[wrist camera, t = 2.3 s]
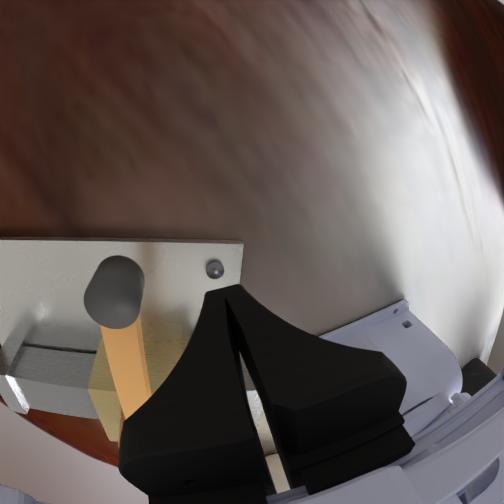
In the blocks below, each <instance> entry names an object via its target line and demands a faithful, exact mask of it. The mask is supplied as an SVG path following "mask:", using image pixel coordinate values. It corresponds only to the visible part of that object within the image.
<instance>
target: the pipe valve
mask: <svg viewBox="0 0 504 504" xmlns="http://www.w3.org/2000/svg"><path fill="white" fill-rule="evenodd" d="M143 344H144V351H145V358H146V365H147V371H148V378H149V383H150V389H151V395H153V394H154V392H155V391H156V390H157V389H158V388H159V387H160V386H161V384H162V383H163V382H164V381H165V379H166V378H167V377H168V375H169V374H170V372H171V371H172V369H173V368H174V366H175V365H176V364H177V362H178V360H179V359H180V357H181V355H182V354H183V352H184V350H185V348H186V346H187V344H188V342H169V341H143ZM239 352H240V351H239ZM240 358H241V363H242V369H243V375H244V381H245V386H246V392H247V398H248V402H249V406H250V410H251V413H252V417H253V420H254V423H255V426H258V421H259V417H260V413H261V409H262V404H261V401H260V399H259V396H258V394H257V391H256V389H255V387H254V384H253V382H252V380H251V377H250V375H249V373H248V370H247V368H246V366H245V363H244V361H243V359H242V356H241V354H240ZM0 394H1V396H2V397H3V399H4V400H5V402H6V404H7V405H8V407H9V408H10V410H12V411H16V412H19V413H23V414H27V413H28V410H29V408H33V409H38V410H43V411H48V412H53V413H59V414H65V415H71V416H78V417H85V418H93V419H100V421H101V423H102V425H103V427H104V430H105V432H106V434H107V436H108V438H109V440H110V441H118V439H119V427H120V418H121V417H122V415H123V414H124V413H123V410H122V407H121V404H120V401H119V397H118V394H117V391H116V387H115V384H114V380H113V377H112V373H111V369H110V365H109V361H108V357H107V353H106V349H105V345H104V340H103V339H100V342H99V346H98V349H97V353H96V354H88V353H77V352H67V351H58V350H50V349H42V348H35V347H28V346H26V345H25V343H24V340H21V339H14V338H8V337H7V339H6V341H5V342H4V344H3V346H2V348H1V349H0Z"/></svg>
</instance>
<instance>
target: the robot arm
mask: <svg viewBox="0 0 504 504" xmlns="http://www.w3.org/2000/svg"><path fill="white" fill-rule="evenodd" d="M239 351H240V352H239ZM240 354H241V356H242V359H243V361H244V363H245V366H246V368H247V370H248V373H249V375H250V377H251V380H252V382H253V384H254V387H255V389H256V391H257V394H258V396H259V399H260V401H261V404H262V407H263V410H264V413H265V416H266V419H267V422H268V425H269V428H270V431H271V434H272V437H273V440H274V443H275V446H276V449H277V452H278V455H279V458H280V461H281V464H282V467H283V470H284V473H285V475H286V478H287V481H288V484H289V487H290V490H288V491H284V492H281V493H277V491H276V488H275V485H274V482H273V479H272V476H271V473H270V470H269V467H268V464H267V461H266V458H265V455H264V452H263V449H262V446H261V443H260V439H259V436H258V433H257V430H256V426H255V423H254V420H253V417H252V413H251V410H250V406H249V402H248V398H247V392H246V386H245V381H244V375H243V369H242V363H241V358H240ZM461 389H462V372H461V369H460V366H459V363H458V361H457V359H456V357H455V356H454V354H453V353H452V351H451V350H450V349H449V348H448V347H447V346H446V345H445V344H444V343H443V342H442V341H441V340H440V339H439V338H438V337H437V336H436V335H435V334H434V333H433V332H432V331H431V330H430V329H429V328H428V327H426V326H425V325H424V324H423V323H422V322H421V321H420V320H419V319H418V318H417V317H416V316H415V315H414V314H412V313H411V312H410V311H409V302H408V301H407V300H405V299H404V300H402V301H400V302H398V303H395V304H393V305H391V306H389V307H387V308H385V309H383V310H380V311H378V312H376V313H374V314H372V315H369V316H367V317H365V318H362V319H360V320H358V321H356V322H353V323H351V324H348V325H346V326H344V327H341V328H339V329H336V330H334V331H331V332H329V333H326V334H324V335H321V336H319V337H317V336H315V335H312V334H309V333H307V332H305V331H303V330H301V329H299V328H297V327H295V326H293V325H291V324H289V323H288V322H286V321H284V320H283V319H281V318H280V317H278V316H277V315H275V314H274V313H272V312H271V311H269V310H268V309H267V308H266V307H264V306H263V305H262V304H261V303H259V302H258V301H257V300H256V299H255V298H254V297H252V296H251V295H250V294H249V293H248V292H247V291H246V290H245V289H244V287H243V286H242V285H240V284H235V285H231V286H227V287H223V288H219V289H215V290H211V291H207V292H206V293H205V295H204V300H203V305H202V308H201V312H200V315H199V318H198V320H197V323H196V326H195V328H194V331H193V333H192V335H191V338H190V340H189V342H188V344H187V346H186V348H185V350H184V352H183V354H182V355H181V357H180V359H179V360H178V362H177V364H176V365H175V366H174V368H173V369H172V371H171V372H170V374H169V375H168V377H167V378H166V379H165V381H164V382H163V383H162V384H161V386H160V387H159V388H158V389H157V390H156V391H155V392H154V394H153V395H152V396H151V397H150V398H149V399H148V400H147V401H146V402H145V403H144V404H143V405H142V406H141V407H139V408H138V409H137V410H136V411H135V412H134V413H133V414H132V415H131V416H129V417H128V418H127V419H126V420H125V421H124V422H123V427H122V431H121V436H120V443H119V462H118V468H119V471H120V473H121V475H122V476H123V477H124V478H125V479H126V480H127V481H128V482H130V483H131V484H133V485H134V486H135V487H137V488H138V489H140V490H141V491H142V492H144V493H145V494H147V495H148V498H149V504H503V503H504V366H503V367H502V370H501V373H500V374H499V375H497V376H496V377H495V378H494V379H493V380H492V381H491V382H489V383H488V384H487V385H486V386H485V387H483V388H482V389H481V390H480V391H478V392H477V393H476V394H475V395H473V396H472V397H471V396H470V395H469V394H468V393H460V392H461ZM452 402H454V403H455V405H456V406H457V407H458V408H456V409H455V407H454V406H453V405H452V404H451V403H452ZM0 504H49V503H45V502H39V501H36V500H35V499H34V498H33V497H31V496H30V495H28V494H26V493H25V492H23V491H21V490H18V489H15V488H11V487H7V486H4V485H1V484H0Z"/></svg>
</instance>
